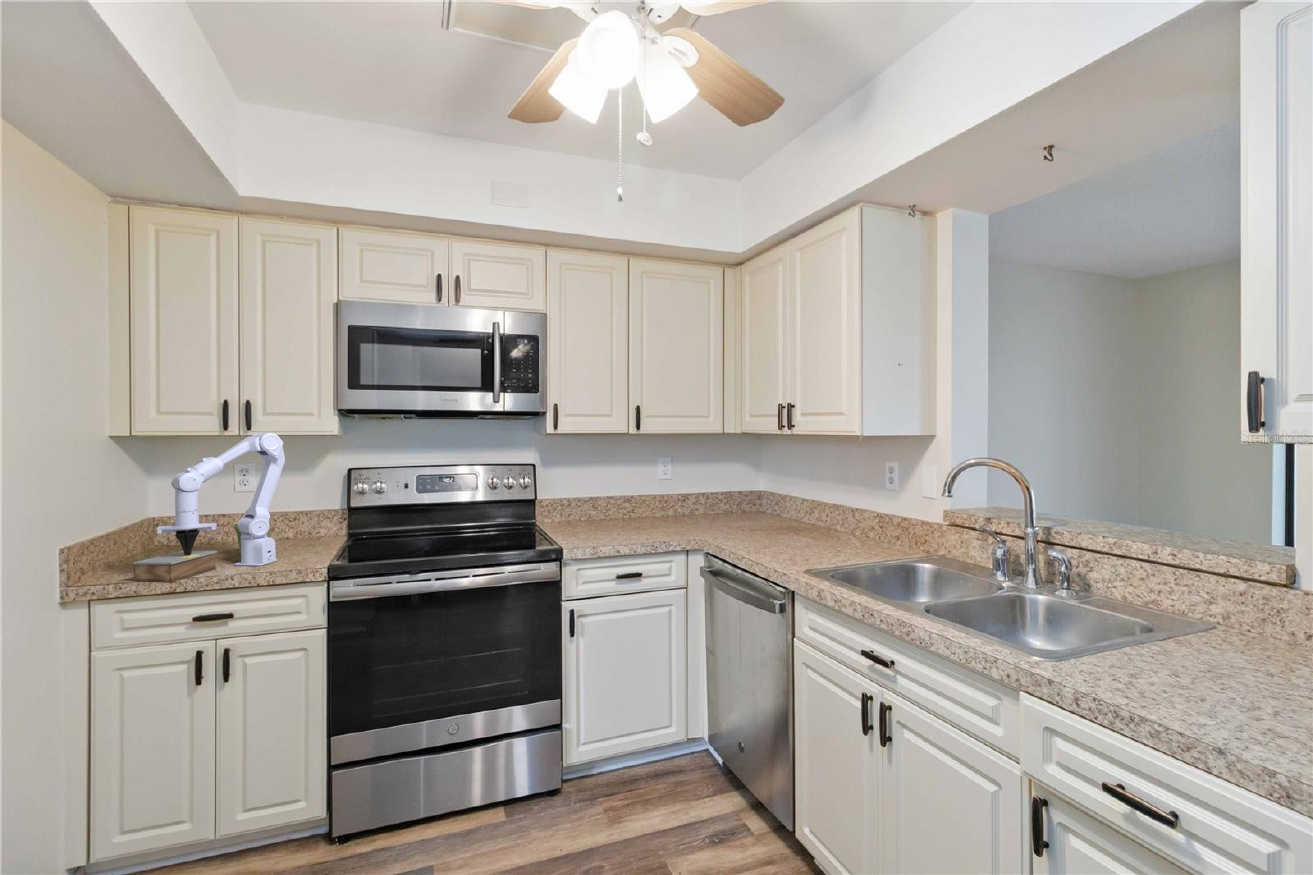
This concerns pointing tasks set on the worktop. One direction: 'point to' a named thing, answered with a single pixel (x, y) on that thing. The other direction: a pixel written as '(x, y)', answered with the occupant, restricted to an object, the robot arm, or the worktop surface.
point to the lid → (173, 558)
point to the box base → (174, 570)
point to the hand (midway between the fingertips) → (188, 554)
